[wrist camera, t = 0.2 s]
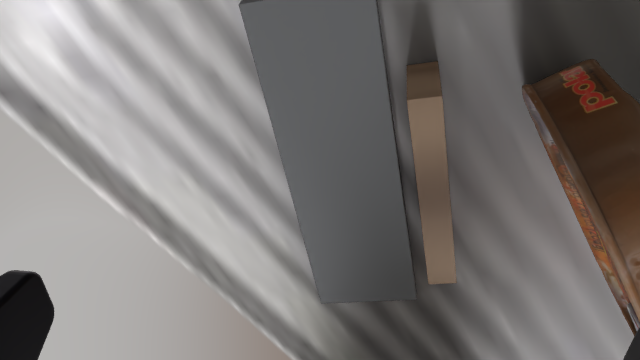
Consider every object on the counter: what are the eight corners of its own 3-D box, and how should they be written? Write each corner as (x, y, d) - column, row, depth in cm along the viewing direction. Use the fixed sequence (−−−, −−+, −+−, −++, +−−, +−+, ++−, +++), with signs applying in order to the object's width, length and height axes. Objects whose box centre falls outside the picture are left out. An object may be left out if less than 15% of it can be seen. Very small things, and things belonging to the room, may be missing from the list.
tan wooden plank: (796, 215, 23) (842, 265, 21) (426, 238, 26) (428, 284, 24) (873, 4, 18) (946, 36, 16) (406, 65, 21) (407, 100, 19)
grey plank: (416, 290, 28) (416, 299, 28) (322, 295, 29) (321, 303, 29) (373, -23, 20) (373, -18, 19) (242, -1, 21) (238, 4, 20)
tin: (501, 52, 21) (549, 180, 14) (587, 11, 20) (686, 129, 13) (615, 303, 27) (686, 473, 21) (685, 284, 26) (785, 458, 19)
